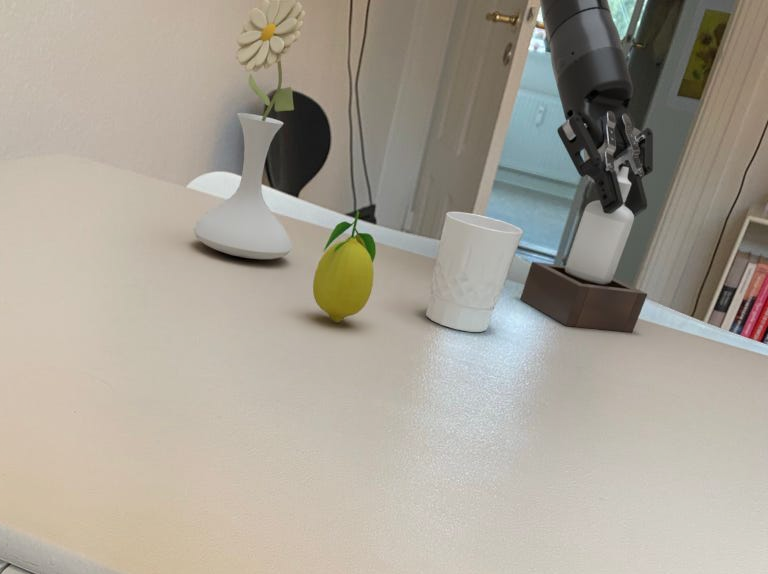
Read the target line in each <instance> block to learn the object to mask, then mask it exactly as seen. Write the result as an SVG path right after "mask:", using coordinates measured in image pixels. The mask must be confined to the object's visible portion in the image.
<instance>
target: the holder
mask: <svg viewBox="0 0 768 574" xmlns="http://www.w3.org/2000/svg"><path fill="white" fill-rule="evenodd" d="M565 266H566V265H561V264H554V263H546V262H537V261H532V262H531V264H530V267H529V270H528V273H527V276H526V279H525V283H524V284H523V285H524V286H523V288H522V292H521V296H520V298H519V300H520V301H522V302H524V303H526V304H527V305H529V306H531V307H532V308H534V309H536V310H538V311H539V312H540V313H543V314H545V315H547V316H548V317H549V318H552V319H553V320H555V321H556V322H558V323H560V324H562V325H564V326H565V327H574V328H583V329H595V330H603V331H615V332H625V333H633V332H634V330H635V327H636V324H637V322H638V319H639V318H640V314H641V312H642V309H643V307H644V304H645V302H646V299H647V297H648V293H647V292H644V291H643V290H641V289H638V288H636V287H634V286H632V285H631V284H628V283H626V282H623V281H621V280H619V279H618V278H616V277H613V279H612V281H611V282H610V283H608V284H597V283H593V282H589V281H586V280H583V279H580V278H577V277H575V276H572V275H570V274H568V273H566V272H565Z"/></svg>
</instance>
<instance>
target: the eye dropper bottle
mask: <svg viewBox="0 0 768 574" xmlns="http://www.w3.org/2000/svg"><path fill="white" fill-rule="evenodd" d="M628 173H629V167H627V166H624V167H622V169H621V171H620V173H619V174H618V176H617V179H618V183H619V187H620V190H621V194H622V198H623V204H622V206H621V207H620V208H618V209H617V210H616V211H614V212H613V213H611V214H607V213H604V212H603V208H602V205H601V203H600V199H598V200H593V201H591V202H589V203H588V204H587V205H586V206H585V208H584V210H583V213H582V216H581V218H580V221H579V225H578V227H577V229H576V233H575V236H574V239H573V242H572V245H571V249H570V251H569V254H568V257H567V260H566V263H565V265H564V266H565V272H566V273H568V274H570V275H572V276H575V277H577V278H580V279H583V280H586V281H589V282H593V283H597V284H608V283H610V282H611V281H612V279H613V278H615V274H616V272H617V268H618V265H619V263H620V261H621V258H622V254H623V253H624V250H625V247H626V244H627V241H628V238H629V236H630V232H631V229H632V227H633V223H634V222H635V221H634V220H635V217H634V215H633V213H632V212H631V211H630V210H629V209H628V208H627V207H626V206H625V203H624V202H625V201H626V198H627V195H628V193H629V190H630V187H631V182H630V181H629V180H628V178H627V176H628Z"/></svg>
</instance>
